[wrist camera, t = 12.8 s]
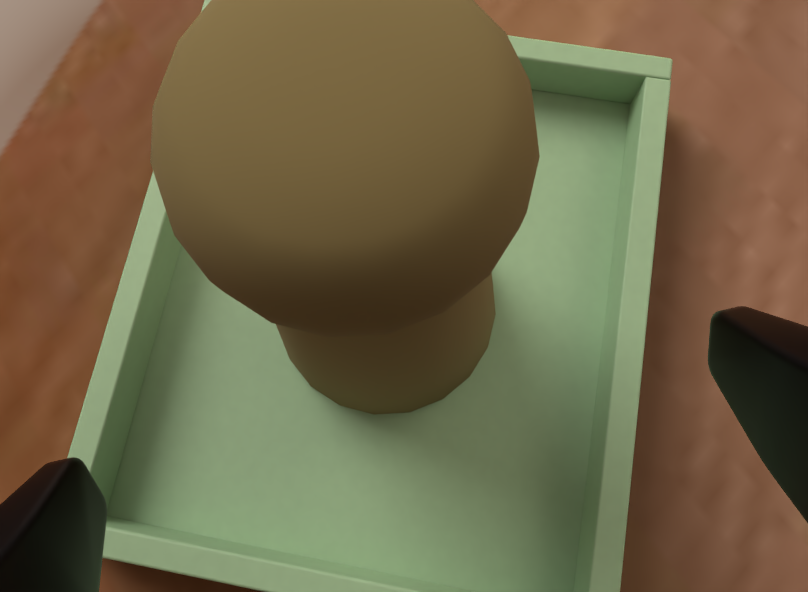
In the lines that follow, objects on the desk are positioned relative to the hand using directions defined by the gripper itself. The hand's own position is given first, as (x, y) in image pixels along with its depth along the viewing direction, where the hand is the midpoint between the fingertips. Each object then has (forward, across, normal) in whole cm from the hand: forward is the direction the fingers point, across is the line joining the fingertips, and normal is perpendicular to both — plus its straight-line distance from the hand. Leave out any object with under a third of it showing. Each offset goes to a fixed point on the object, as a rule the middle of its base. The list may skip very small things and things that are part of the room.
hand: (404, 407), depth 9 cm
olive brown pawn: (+8, 0, +3) cm, 9 cm away
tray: (+9, 0, +4) cm, 10 cm away
